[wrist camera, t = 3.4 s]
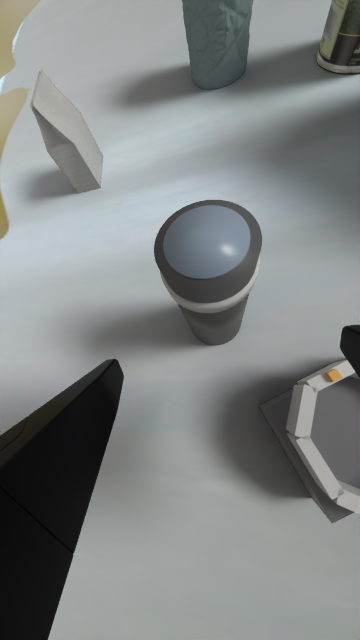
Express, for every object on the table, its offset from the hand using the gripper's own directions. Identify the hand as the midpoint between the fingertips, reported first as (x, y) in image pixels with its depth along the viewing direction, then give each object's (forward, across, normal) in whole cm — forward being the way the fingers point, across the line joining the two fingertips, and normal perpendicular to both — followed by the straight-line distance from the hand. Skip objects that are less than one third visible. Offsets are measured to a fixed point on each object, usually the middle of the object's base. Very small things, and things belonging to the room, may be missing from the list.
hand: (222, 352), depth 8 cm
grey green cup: (+42, -7, -25) cm, 49 cm away
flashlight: (+12, 0, +5) cm, 13 cm away
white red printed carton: (+31, +15, -14) cm, 37 cm away
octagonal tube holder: (+5, -8, +12) cm, 15 cm away
